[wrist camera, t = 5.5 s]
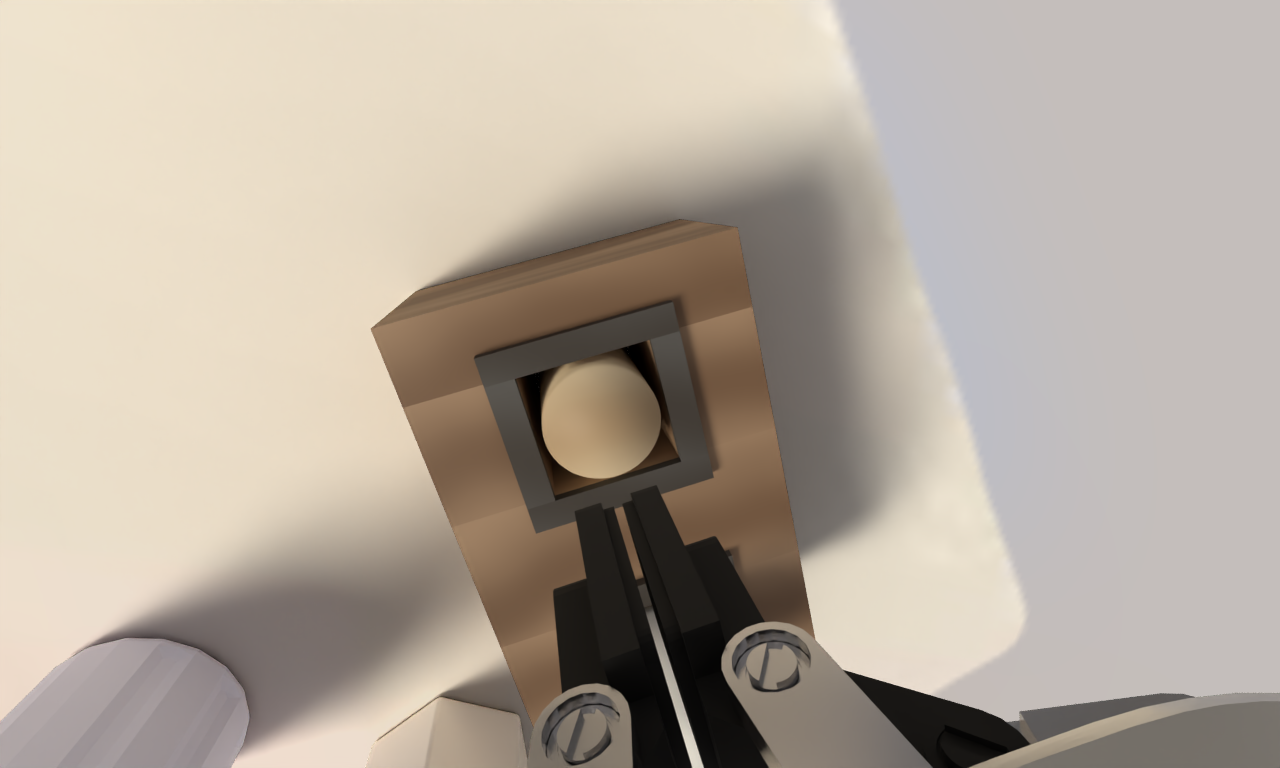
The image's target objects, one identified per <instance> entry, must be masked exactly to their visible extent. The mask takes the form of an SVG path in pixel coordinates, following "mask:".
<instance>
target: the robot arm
mask: <svg viewBox="0 0 1280 768" xmlns="http://www.w3.org/2000/svg"><path fill="white" fill-rule="evenodd" d="M630 495H631V499H632V500H631V501H628V502H625V503H622V505H623V509H624V512H625V516H626V519H627V522H628V526H629V529H630V533H631V536H632V539H633V543H634V546H635V550H636V553H637V556H638V560H639V563H640V567H641V570H642V573H643V577H644V580H645V584H646V587H647V590H648V594H649V597H650V601H651V604H652V607H653V611H654V614H655V617H656V621H657V624H658V627H659V630H660V633H661V636H662V640H663V643H664V646H665V649H666V652H667V655H668V658H669V661H670V664H671V668H672V671H673V674H674V677H675V680H676V683H677V686H678V689H679V692H680V696H681V699H682V702H683V705H684V708H685V711H686V714H687V717H688V720H689V724H690V727H691V730H692V733H693V736H694V739H695V742H696V745H697V748H698V751H699V755H700V758H701V761H702V764H703V767H704V768H1280V693H1232V694H1223V695H1213V696H1204V697H1193V696H1189V695H1185V694H1164V693H1163V694H1162V693H1160V694H1153V695H1145V696H1137V697H1129V698H1122V699H1114V700H1106V701H1098V702H1090V703H1083V704H1076V705H1067V706H1060V707H1052V708H1044V709H1037V710H1028V711H1020V712H1019V714H1020V721H1013V722H1005V721H1004V720H1002V719H1001V718H999V717H996V716H994V715H992V714H989V713H986V712H984V711H982V710H979V709H975V708H972V707H969V706H965V705H962V704H958V703H955V702H951V701H948V700H945V699H941V698H937V697H934V696H931V695H927V694H924V693H920V692H917V691H914V690H910V689H907V688H903V687H900V686H896V685H893V684H890V683H886V682H883V681H879V680H876V679H872V678H869V677H866V676H862V675H859V674H855V673H852V672H848V671H845V670H842V668H841V667H840V666H839V665H838V664H837V663H836V662H835V661H834V660H833V659H832V658H831V656H830V655H829V654H828V653H827V652H826V651H825V650H824V649H823V648H822V647H821V646H820V644H819V643H818V642H817V641H816V640H815V639H814V638H813V637H812V636H811V635H809V634H808V633H807V632H806V631H804V630H803V629H801V628H799V627H796V626H794V625H791V624H789V623H782V622H765V621H764V619H763V617H762V616H761V614H760V612H759V610H758V609H757V607H756V605H755V603H754V602H753V600H752V598H751V596H750V595H749V593H748V591H747V589H746V588H745V586H744V584H743V582H742V581H741V579H740V577H739V575H738V573H737V572H736V570H735V568H734V566H733V565H732V563H731V561H730V559H729V558H728V556H727V554H726V552H725V551H724V549H723V547H722V545H721V544H720V542H719V540H718V539H717V537H715V536H712V537H709V538H706V539H703V540H700V541H697V542H694V543H691V544H688V545H684V543H683V541H682V539H681V536H680V534H679V532H678V530H677V528H676V526H675V524H674V521H673V519H672V517H671V515H670V513H669V511H668V509H667V506H666V504H665V502H664V500H663V498H662V496H661V494H660V491H659V489H658V487H657V485H654V486H651V487H648V488H645V489H642V490H639V491H635V492H632V493H630ZM575 517H576V523H577V528H578V534H579V539H580V545H581V551H582V556H583V562H584V567H585V573H586V579H583V580H580V581H577V582H574V583H571V584H568V585H565V586H562V587H559V588H556V589H554V590H553V600H554V611H555V622H556V634H557V645H558V656H559V667H560V678H561V689H562V694H561V695H559V696H558V697H556V698H555V699H554V700H553V701H552V702H551V703H550V704H549V705H548V706H547V707H546V708H545V709H544V710H543V711H542V713H541V714H540V716H539V718H538V719H537V721H536V722H535V725H534V728H533V731H532V735H531V738H530V746H529V753H528V760H527V768H692V765H691V761H690V758H689V755H688V751H687V748H686V745H685V741H684V738H683V735H682V731H681V728H680V725H679V721H678V718H677V715H676V711H675V708H674V705H673V702H672V698H671V695H670V692H669V688H668V685H667V682H666V678H665V675H664V672H663V668H662V665H661V662H660V658H659V655H658V652H657V648H656V645H655V642H654V638H653V635H652V632H651V628H650V625H649V622H648V619H647V615H646V612H645V609H644V605H643V602H642V599H641V595H640V592H639V589H638V585H637V582H636V579H635V576H634V572H633V569H632V566H631V562H630V559H629V556H628V552H627V549H626V546H625V542H624V539H623V536H622V533H621V529H620V526H619V523H618V519H617V516H616V513H615V509H614V506H613V507H609V508H606V509H603V507H602V504H601V503H598V504H595V505H592V506H588V507H585V508H582V509H579V510H576V511H575Z"/></svg>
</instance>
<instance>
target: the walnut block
mask: <svg viewBox="0 0 1280 768" xmlns="http://www.w3.org/2000/svg"><path fill="white" fill-rule="evenodd" d="M371 331H372V333H373V336H374V338H375V341H376V343H377V346H378V348H379V350H380V353H381V355H382V358H383V360H384V363H385V365H386V368H387V370H388V372H389V375H390V377H391V380H392V382H393V385H394V387H395V390H396V392H397V395H398V397H399V399H400V402H401V404H402V407H403V409H404V412H405V414H406V417H407V419H408V421H409V424H410V426H411V429H412V431H413V434H414V436H415V439H416V441H417V443H418V446H419V448H420V451H421V453H422V456H423V458H424V461H425V463H426V466H427V468H428V470H429V473H430V475H431V478H432V480H433V483H434V485H435V488H436V490H437V492H438V495H439V497H440V500H441V502H442V505H443V507H444V510H445V512H446V514H447V517H448V519H449V522H450V524H451V527H452V529H453V532H454V534H455V537H456V539H457V541H458V544H459V546H460V549H461V551H462V554H463V556H464V559H465V561H466V563H467V566H468V568H469V571H470V573H471V576H472V578H473V581H474V583H475V586H476V588H477V590H478V593H479V595H480V598H481V600H482V603H483V605H484V608H485V610H486V612H487V615H488V617H489V620H490V622H491V625H492V627H493V630H494V632H495V634H496V637H497V639H498V642H499V644H500V647H501V649H502V652H503V654H504V657H505V659H506V661H507V664H508V666H509V669H510V671H511V674H512V676H513V679H514V681H515V683H516V686H517V688H518V691H519V693H520V696H521V698H522V701H523V703H524V705H525V708H526V710H527V713H528V715H529V718H530V720H531V723H532V725H533V728H534V725H535V722H536V721H537V719H538V718H539V716H540V714H541V713H542V711H543V710H544V709H545V708H546V707H547V706H548V705H549V704H550V703H551V702H552V701H553V700H554V699H555V698H556V697H558V696H559V695H561V694H562V689H561V678H560V667H559V656H558V645H557V634H556V622H555V611H554V600H553V590H554V589H556V588H559V587H562V586H565V585H568V584H571V583H574V582H577V581H580V580H583V579H586V573H585V567H584V562H583V556H582V551H581V545H580V539H579V534H578V528H577V523H576V517H575V511H576V510H579V509H582V508H585V507H588V506H592V505H595V504H598V503H601V504H602V507H603V509H606V508H609V507H613V506H614V509H615V513H616V516H617V519H618V523H619V526H620V529H621V533H622V536H623V539H624V542H625V546H626V549H627V552H628V556H629V559H630V562H631V566H632V569H633V572H634V576H635V579H636V582H637V585H638V589H639V592H640V595H641V599H642V602H643V605H644V608H645V607H648V606H651V605H652V604H651V601H650V597H649V594H648V590H647V587H646V584H645V580H644V577H643V573H642V570H641V567H640V563H639V560H638V556H637V553H636V550H635V546H634V543H633V539H632V536H631V533H630V529H629V526H628V522H627V519H626V516H625V512H624V509H623V505H622V503H625V502H628V501H631V500H632V499H631V495H630V493H632V492H635V491H639V490H642V489H645V488H648V487H651V486H654V485H657V487H658V489H659V491H660V494H661V496H662V498H663V500H664V502H665V504H666V506H667V509H668V511H669V513H670V515H671V517H672V519H673V521H674V524H675V526H676V528H677V530H678V532H679V534H680V536H681V539H682V541H683V543H684V545H688V544H691V543H694V542H697V541H700V540H703V539H706V538H709V537H712V536H715V537H717V539H718V540H719V542H720V544H721V545H722V547H723V549H724V551H725V552H726V554H727V556H728V558H729V559H730V561H731V563H732V565H733V566H734V568H735V570H736V572H737V573H738V575H739V577H740V579H741V581H742V582H743V584H744V586H745V588H746V589H747V591H748V593H749V595H750V596H751V598H752V600H753V602H754V603H755V605H756V607H757V609H758V610H759V612H760V614H761V616H762V617H763V619H764V621H765V622H782V623H789V624H791V625H794V626H796V627H799V628H801V629H803V630H804V631H806V632H807V633H808V634H809V635H811V636H812V637H813V638H814V639H815V635H814V630H813V625H812V620H811V614H810V609H809V604H808V598H807V593H806V588H805V582H804V577H803V572H802V567H801V561H800V556H799V551H798V545H797V540H796V535H795V530H794V524H793V519H792V514H791V508H790V503H789V498H788V492H787V487H786V482H785V477H784V471H783V466H782V461H781V455H780V450H779V445H778V440H777V434H776V429H775V424H774V418H773V413H772V408H771V403H770V397H769V392H768V387H767V381H766V376H765V371H764V365H763V360H762V355H761V350H760V344H759V339H758V334H757V328H756V323H755V318H754V313H753V307H752V302H751V297H750V291H749V286H748V281H747V275H746V270H745V265H744V260H743V254H742V249H741V244H740V238H739V233H738V228H737V227H731V226H724V225H717V224H710V223H702V222H695V221H688V220H681V219H679V220H675V221H672V222H668V223H664V224H661V225H657V226H653V227H650V228H646V229H642V230H639V231H635V232H631V233H628V234H624V235H620V236H617V237H613V238H609V239H606V240H602V241H598V242H595V243H591V244H587V245H584V246H580V247H576V248H573V249H569V250H565V251H562V252H558V253H554V254H551V255H547V256H543V257H540V258H536V259H532V260H529V261H525V262H521V263H518V264H514V265H510V266H507V267H503V268H499V269H496V270H492V271H488V272H485V273H481V274H477V275H474V276H470V277H466V278H463V279H459V280H455V281H452V282H448V283H444V284H441V285H437V286H433V287H430V288H426V289H422V290H419V291H416V292H415V293H413V294H412V295H411V296H410V297H409V298H407V299H406V300H405V301H404V302H402V303H401V304H400V305H399V306H398V307H396V308H395V309H394V310H393V311H392V312H390V313H389V314H388V315H387V316H386V317H384V318H383V319H382V320H381V321H380V322H378V323H377V324H376V325H375V326H374V327H372V328H371ZM626 346H629V350H630V354H631V358H632V360H633V362H634V363H635V365H636V366H637V368H638V370H639V371H640V373H641V374H642V376H643V377H644V379H645V381H646V382H647V384H648V385H649V387H650V388H651V390H652V391H653V393H654V395H655V397H656V399H657V401H658V404H659V408H660V413H661V426H660V432H659V436H658V438H657V441H656V443H655V445H654V447H653V449H652V450H651V452H650V453H649V455H648V456H647V457H646V458H645V459H644V460H643V461H642V462H641V463H640V464H639V465H637V466H636V467H634V468H633V469H632V470H630V471H628V472H626V473H623V474H621V475H618V476H614V477H610V478H587V477H583V476H579V475H577V474H574V473H572V472H570V471H568V470H567V469H565V468H564V467H563V466H561V465H560V464H559V463H558V462H557V461H556V460H555V459H554V458H553V456H552V455H551V454H550V452H549V450H548V449H547V446H546V444H545V441H544V437H543V432H542V419H541V402H540V392H539V388H538V385H537V382H536V379H535V376H534V373H537V372H540V371H544V370H547V369H551V368H554V367H558V366H561V365H564V364H568V363H571V362H575V361H578V360H582V359H585V358H589V357H592V356H595V355H599V354H602V353H606V352H609V351H613V350H616V349H620V348H623V347H626Z"/></svg>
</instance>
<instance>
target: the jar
mask: <svg viewBox="0 0 1280 768" xmlns="http://www.w3.org/2000/svg"><path fill="white" fill-rule="evenodd" d="M365 768H527V755H526V750H525V744H524V739H523V733H522V727H521V722H520V717H519V716H518V715H517V714H514V713H510V712H505V711H501V710H496V709H492V708H487V707H483V706H479V705H474V704H470V703H465V702H461V701H456V700H452V699H448V698H443V697H439V698H437V699H435V700H434V701H433V702H431V703H430V704H428V705H427V706H426V707H424V708H423V709H422V710H420V711H419V712H417V713H416V714H414V715H413V716H412V717H410V718H409V719H407V720H406V721H405V722H403V723H402V724H400V725H399V726H398V727H396V728H395V729H393V730H392V731H391V732H389V733H388V734H386V735H385V736H383V737H382V738H381V739H379V740H378V741H376V742H375V743H374V744H373V745H372V747H371V750H370V753H369V757H368V760H367V764H366V767H365Z"/></svg>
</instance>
